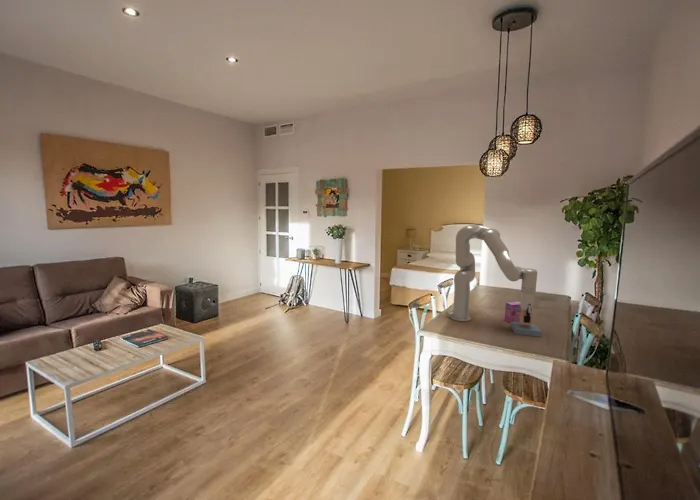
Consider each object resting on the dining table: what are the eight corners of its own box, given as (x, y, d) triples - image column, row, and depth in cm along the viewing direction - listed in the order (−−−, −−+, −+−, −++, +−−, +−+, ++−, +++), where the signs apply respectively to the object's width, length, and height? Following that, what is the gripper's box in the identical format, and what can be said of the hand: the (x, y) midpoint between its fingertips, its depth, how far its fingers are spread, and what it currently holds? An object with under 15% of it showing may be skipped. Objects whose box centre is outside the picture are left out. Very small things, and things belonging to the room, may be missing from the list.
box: (510, 323, 225) (511, 304, 224) (504, 320, 231) (505, 302, 229) (524, 321, 228) (525, 303, 226) (517, 319, 233) (519, 301, 232)
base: (515, 334, 205) (515, 329, 205) (510, 326, 219) (510, 321, 218) (540, 336, 202) (541, 331, 202) (533, 328, 216) (534, 323, 215)
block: (521, 324, 208) (523, 310, 207) (519, 321, 213) (520, 308, 212) (531, 325, 207) (532, 311, 206) (529, 322, 212) (530, 309, 211)
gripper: (517, 286, 217) (515, 316, 219) (524, 293, 200) (522, 325, 202) (531, 287, 215) (528, 317, 217) (539, 294, 198) (536, 326, 201)
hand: (525, 320), depth 210 cm, fingers closed on block, 4 cm apart
